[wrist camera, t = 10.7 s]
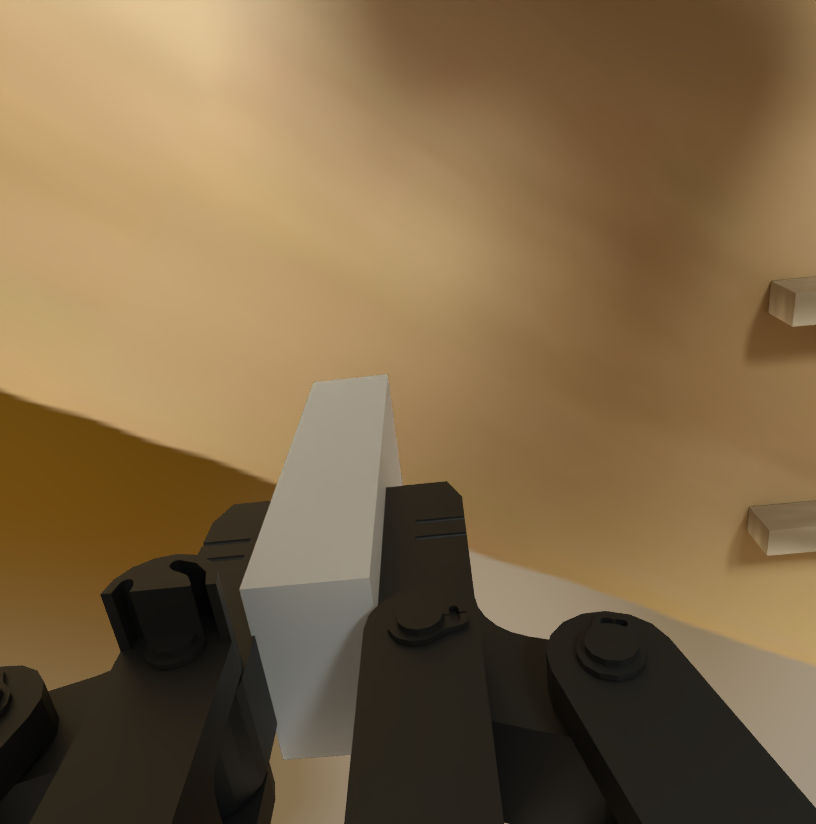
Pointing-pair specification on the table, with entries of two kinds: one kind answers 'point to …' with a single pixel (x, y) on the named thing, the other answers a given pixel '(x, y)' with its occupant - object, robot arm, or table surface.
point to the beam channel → (801, 521)
